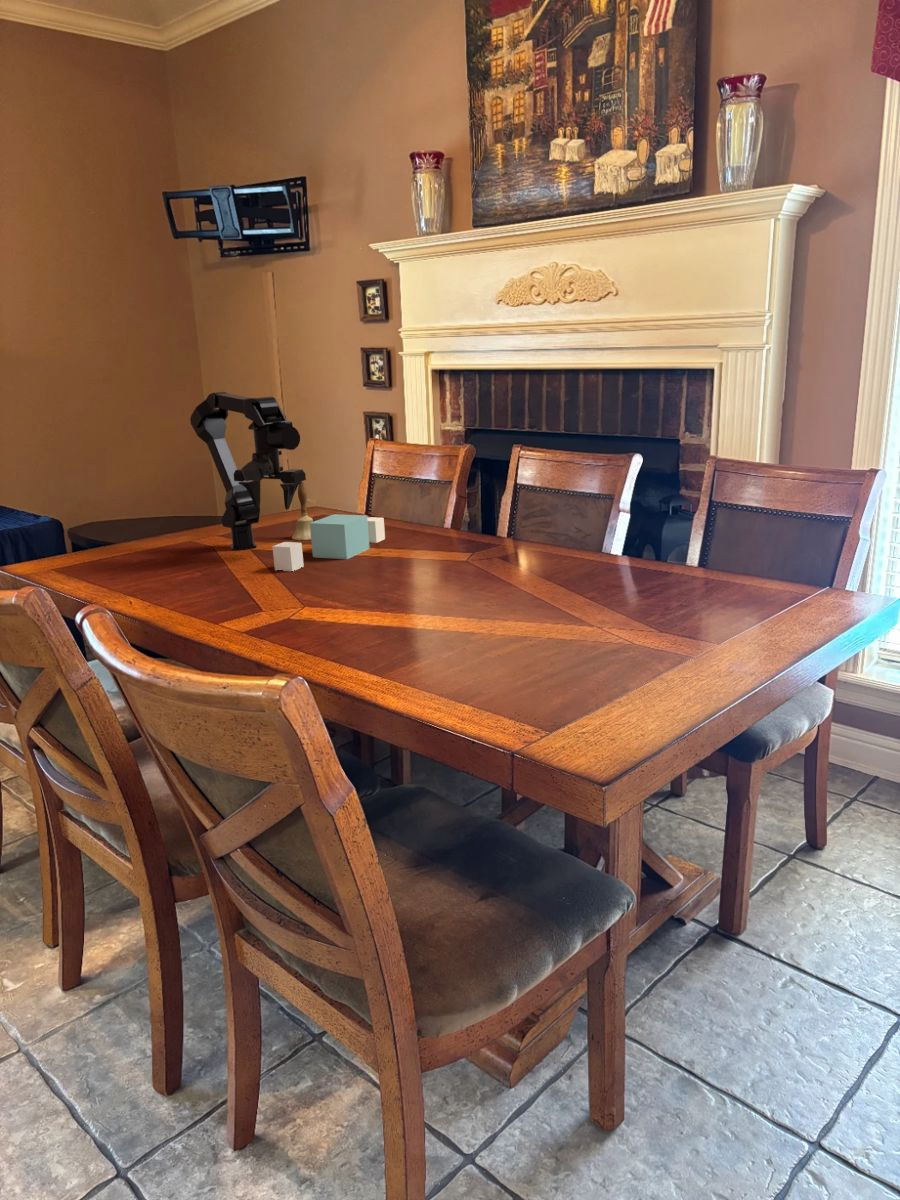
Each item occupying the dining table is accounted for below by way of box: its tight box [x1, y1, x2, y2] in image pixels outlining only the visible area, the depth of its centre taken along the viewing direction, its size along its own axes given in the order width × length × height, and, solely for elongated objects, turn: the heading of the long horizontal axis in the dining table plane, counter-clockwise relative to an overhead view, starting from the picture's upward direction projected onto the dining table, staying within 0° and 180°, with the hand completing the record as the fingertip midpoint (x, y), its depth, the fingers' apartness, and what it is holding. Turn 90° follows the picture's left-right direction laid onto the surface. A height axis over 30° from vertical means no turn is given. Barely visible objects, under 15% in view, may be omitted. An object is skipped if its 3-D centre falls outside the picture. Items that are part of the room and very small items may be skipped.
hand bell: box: [291, 480, 314, 541], centre depth 239 cm, size 8×8×16 cm
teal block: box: [310, 513, 370, 560], centre depth 219 cm, size 10×12×9 cm
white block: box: [271, 541, 305, 572], centre depth 206 cm, size 5×5×6 cm
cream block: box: [367, 516, 386, 544], centre depth 233 cm, size 5×5×6 cm
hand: (272, 508), depth 220 cm, fingers open, 9 cm apart
